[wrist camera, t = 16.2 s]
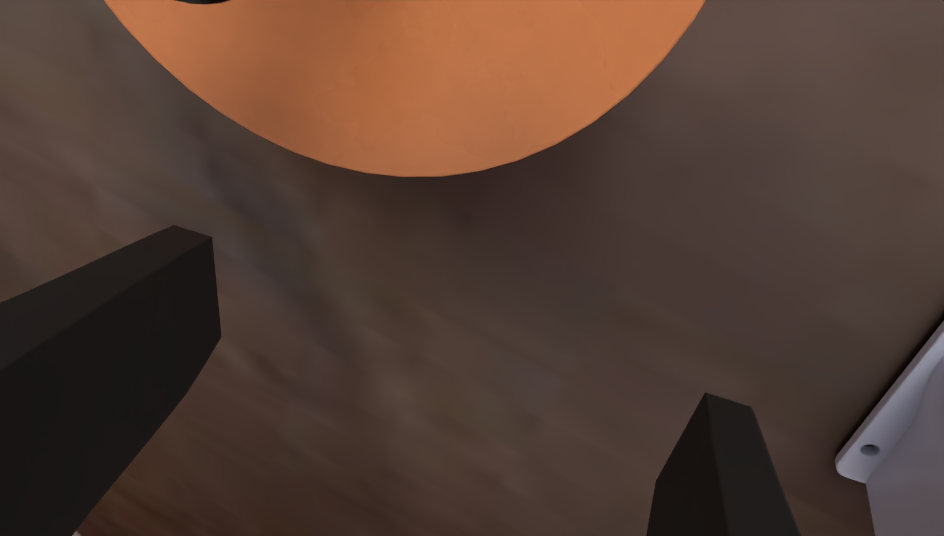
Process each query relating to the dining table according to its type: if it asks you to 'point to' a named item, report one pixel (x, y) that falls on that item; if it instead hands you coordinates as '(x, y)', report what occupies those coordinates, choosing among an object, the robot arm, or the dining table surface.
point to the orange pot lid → (410, 71)
